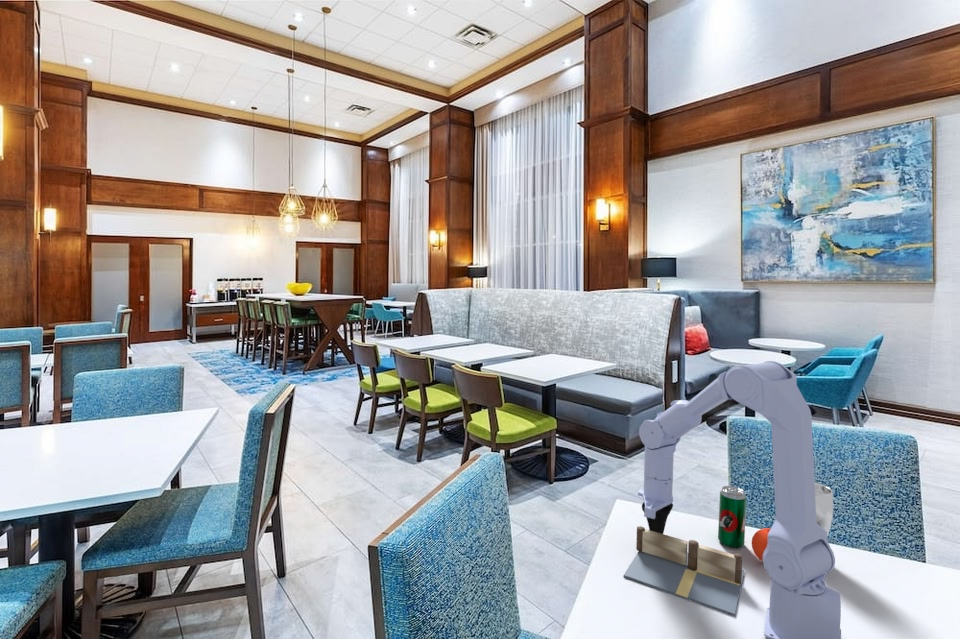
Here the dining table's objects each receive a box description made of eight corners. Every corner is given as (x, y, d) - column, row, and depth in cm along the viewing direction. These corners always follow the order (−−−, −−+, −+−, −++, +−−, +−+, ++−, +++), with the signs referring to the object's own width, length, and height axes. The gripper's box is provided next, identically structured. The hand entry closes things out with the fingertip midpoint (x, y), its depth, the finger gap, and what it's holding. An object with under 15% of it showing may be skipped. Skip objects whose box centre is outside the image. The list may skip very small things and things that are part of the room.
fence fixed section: (741, 580, 90) (743, 554, 89) (740, 585, 88) (742, 559, 88) (688, 564, 95) (689, 539, 95) (686, 568, 93) (687, 543, 93)
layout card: (744, 571, 93) (744, 569, 93) (734, 616, 81) (734, 614, 80) (645, 541, 104) (645, 539, 104) (623, 577, 91) (623, 574, 91)
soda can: (747, 551, 100) (750, 496, 99) (721, 548, 101) (724, 494, 100) (739, 538, 105) (742, 486, 104) (715, 536, 106) (717, 484, 105)
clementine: (804, 572, 93) (806, 537, 92) (779, 580, 90) (781, 544, 90) (766, 550, 100) (768, 518, 100) (742, 557, 98) (744, 524, 97)
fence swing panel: (687, 561, 95) (687, 539, 95) (685, 565, 94) (686, 543, 93) (637, 546, 101) (638, 525, 100) (635, 549, 99) (635, 528, 99)
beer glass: (795, 564, 95) (799, 492, 94) (784, 546, 102) (787, 478, 101) (836, 570, 93) (840, 497, 92) (822, 551, 100) (826, 482, 99)
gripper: (647, 460, 109) (645, 517, 110) (629, 482, 96) (628, 546, 98) (680, 466, 105) (678, 525, 106) (666, 491, 93) (664, 557, 94)
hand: (656, 536), depth 101 cm, fingers closed
